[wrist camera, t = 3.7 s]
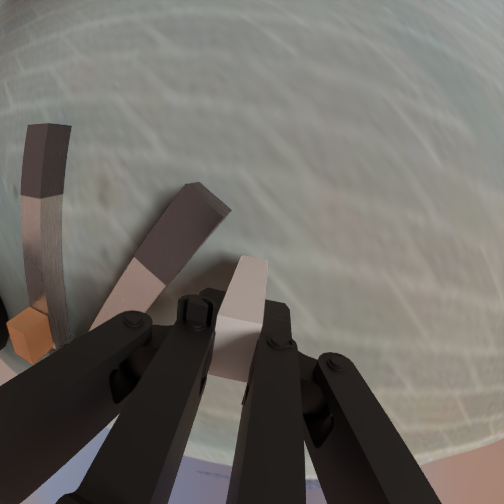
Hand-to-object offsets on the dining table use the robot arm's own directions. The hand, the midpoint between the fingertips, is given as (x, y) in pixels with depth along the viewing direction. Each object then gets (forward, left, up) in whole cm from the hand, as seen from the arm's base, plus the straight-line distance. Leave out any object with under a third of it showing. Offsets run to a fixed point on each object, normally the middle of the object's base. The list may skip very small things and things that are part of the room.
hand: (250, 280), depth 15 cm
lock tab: (+8, -16, +1) cm, 18 cm away
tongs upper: (+4, -7, -1) cm, 8 cm away
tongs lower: (+4, -15, -1) cm, 15 cm away
